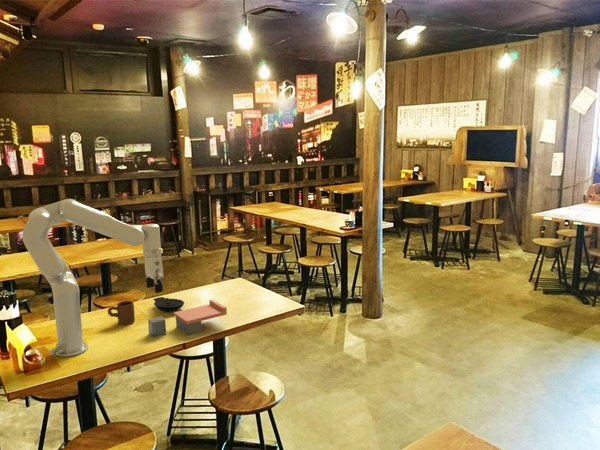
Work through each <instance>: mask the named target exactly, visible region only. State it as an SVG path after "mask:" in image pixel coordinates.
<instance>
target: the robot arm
mask: <svg viewBox="0 0 600 450" xmlns="http://www.w3.org/2000/svg"><path fill="white" fill-rule="evenodd" d="M63 222H69V223H71V224H73V225H76V226H78V227H82V228H85V229H88V230H91V231H93V232H95V233H98V234H101V235H103V236H106V237H109V238H111V239H114V240H117V241H118V242H122V243H125V244H127V245H130V246H135V247H136V246H140V245H142V255H143V257H144V272H145V283H146V288H147V289H150V288H154V293H155V294H160V293H163V291H164V289H163V278H164V267H163V266H164V265H163V260H162V247H161V244H162V243H161V232H160V230H161V229H160V225H159V224H157V223H147V224H146V223H145V224H128V223H124V222H123V221H120V220H118V219H116V218H115V217H112V215H109V214H108V213H106V212H104V211H102V210H99V209H96V208H93V207H92V206H88V205H85V204H83V203H81V202H78V201H77V200H75V199H72V198H65V199H62V200H60V201H59V200H58V201H57V202H53V203H50V204H47V205H44V206H43V205H42V206H41V207H38V208H35V209H33V210H31V212H30V213H29V214H28V220H27V222H26V223H25V225H24V227H23V230H22V241H23V244H24V247H25V248H26V250H27V251H28V252H29V254H30V257H31V258H32V260H33V262H34V264H35V265H36V267H37V268H38V271H39V272H40V274H41V275H42V276H44V277H45V279H46V280H47V282H48V284H49V285H50V287H51V291H52V299H53V307H54V309H53V310H54V316H55V327H56V337H57V343H56V344H55V347H54V348H53V349H50V350H49V351H48V353H49V355H50V356H53V355H55V356H57V357H62V358H63V357H64V358H66V357H74V356H78V355H80V354H82V353H84V352H86V351H87V350H88V348H89V347H88V346H89V345H88V344H87V342H84V337H83V336H84V335H83V326H82V324H83V323H82V314H81V313H82V312H81V304H80V303H81V301H80V287H79V284H78V281H77V280H76V278H75V275H74V274H73V272H72V271H71V269H70V267H69V266H68V264H67V263H66V261H65V259H64V257H63V256H62V255H61V254H60V253H59V252H58V251H57V250H56V248H55V247H54V246H53V244H52V242H51V240H50V239H49V235H48V234H49V233H48V232H49V231H50V230H51V228H53V225H57V224H60V223H63Z"/></svg>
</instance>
